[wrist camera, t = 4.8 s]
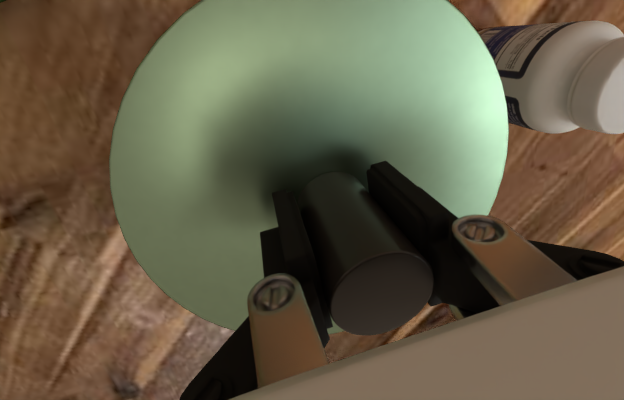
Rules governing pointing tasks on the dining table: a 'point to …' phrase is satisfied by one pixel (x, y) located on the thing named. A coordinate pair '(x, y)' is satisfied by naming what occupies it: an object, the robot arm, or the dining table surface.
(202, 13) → the lid
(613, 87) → the pill bottle
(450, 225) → the robot arm
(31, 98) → the dining table surface
